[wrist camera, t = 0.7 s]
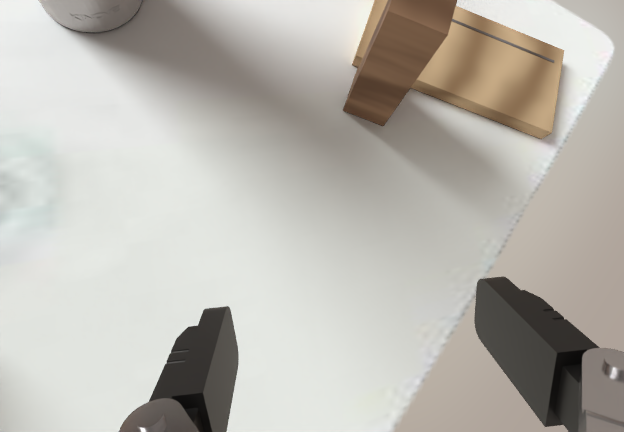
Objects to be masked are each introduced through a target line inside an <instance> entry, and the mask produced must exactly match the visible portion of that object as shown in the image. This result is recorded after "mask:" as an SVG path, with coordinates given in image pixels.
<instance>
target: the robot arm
mask: <svg viewBox="0 0 624 432" xmlns="http://www.w3.org/2000/svg"><path fill="white" fill-rule="evenodd" d="M39 2H40V3H41V5H42V6H43V8H44V9H45V11H46V12H47V13H48V14H49V15H50V16H51V17H52V18H53V19H54V20H55V21H57V22H58V23H60V24H61V25H63V26H65V27H68V28H70V29H73V30H77V31H81V32H103V31H108V30H111V29H115V28H117V27H119V26H121V25H123V24H125V23H126V22H127V21H129V20H130V19H131V18H132V17H133V16H134V15H135V14H136V12H137V11H138V9H139V7H140V5H141V2H142V0H39ZM475 328H476V332H477V334H478V337H479V339H480V340H481V342H482V343H483V344H484V346H485V347H486V348H487V350H488V351H489V352H490V354H491V355H492V356H493V358H494V359H495V360H496V362H497V363H498V364H499V366H500V367H501V369H502V370H503V371H504V373H505V374H506V375H507V376H508V378H509V379H510V381H511V382H512V383H513V384H514V386H515V387H516V389H517V390H518V391H519V393H520V394H521V395H522V397H523V398H524V399H525V401H526V402H527V403H528V405H529V406H530V407H531V409H532V410H533V411H534V413H535V414H536V415H537V417H538V418H539V419H540V421H541V422H542V423H543V425H544V426H545V427H547V426H557V425H564V426H565V427H566V428H567V430H568V432H624V352H622V351H618V350H614V349H608V348H599V347H598V346H597V345H596V344H595V343H593V342H592V341H591V340H590V339H589V338H588V337H586V336H585V335H584V334H583V333H582V332H580V331H579V330H578V329H577V328H576V327H574V326H573V325H572V324H571V323H570V322H569V321H568V320H564V317H563V316H562V315H560V314H559V313H558V312H557V311H554V309H553V308H552V307H551V306H550V305H548V304H547V303H546V302H545V301H544V300H543V299H541V298H540V297H538V296H536V295H534V294H531V293H529V292H527V291H525V290H520V289H519V288H518V287H516V286H515V285H514V284H513V283H512V282H511V281H510V280H509V279H507V278H506V277H495V278H486V279H480V280H479V281H478V283H477V291H476V306H475ZM237 369H238V347H237V341H236V336H235V331H234V326H233V320H232V315H231V311H230V308H229V307H228V306H227V307H218V308H209V309H204V311H203V314H202V316H201V319H200V322H199V324H198V326H192V327H188V328H187V329H186V330H185V331H184V332H183V333H182V334H181V335H180V336H179V337H178V338H177V339H176V341H175V344H174V346H173V348H172V350H171V353H170V355H169V357H168V360H167V364H165V366H164V369H163V371H162V373H161V375H160V378H159V380H158V382H157V385H156V387H155V389H154V391H153V394H152V396H151V398H150V401H149V402H148V403H146V404H144V405H142V406H140V407H139V408H137V409H136V410H135V411H133V412H132V413H131V414H130V415H129V416H128V417H127V418H126V420H125V421H124V422H123V424H122V426H121V428H120V431H119V432H226V431H227V425H228V419H229V414H230V408H231V403H232V397H233V392H234V386H235V380H236V375H237Z"/></svg>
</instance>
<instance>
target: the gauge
mask: <svg viewBox="0 0 624 432" xmlns="http://www.w3.org/2000/svg"><path fill="white" fill-rule="evenodd" d="M456 3H457V0H388V1H387V3H386V6H385V8H384V10H383V13H382V15H381V17H380V19H379V22H378V24H377V26H376V29H375V31H374V33H373V35H372V38H371V40H370V42H369V45H368V47H367V49H366V51H365V54H364V56H363V58H362V61H361V63H360V65H359V67H358V70H357V72H356V74H355V77H354V80H353V83H352V86H351V88H350V91H349V94H348V97H347V100H346V103H345V106H344V109H343V111H345V112H348V113H350V114H353V115H356V116H358V117H361V118H363V119H366V120H369V121H371V122H374V123H376V124H379V125H382V126H384V125H385V123H386V122H387V120H388V119H389V117H390V116H391V115H392V113H393V112H394V110H395V109H396V108H397V106H398V105H399V103H400V102H401V101H402V99H403V98H404V96H405V95H406V93H407V92H408V91H409V89H410V88H411V86H412V85H413V84H414V82H415V81H416V79H417V78H418V77H419V75H420V74H421V72H422V71H423V69H424V68H425V67H426V65H427V64H428V62H429V61H430V60H431V58H432V57H433V55H434V54H435V53H436V51H437V50H438V48H439V47H440V45H441V44H442V43H443V41H444V40H445V38H446V37H447V36H448V33H449V29H450V25H451V22H452V18H453V14H454V10H455V6H456Z"/></svg>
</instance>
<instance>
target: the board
mask: <svg viewBox="0 0 624 432" xmlns="http://www.w3.org/2000/svg"><path fill="white" fill-rule="evenodd" d="M387 1H388V0H375V1H374V4H373V7H372V10H371V12H370V15H369V18H368V21H367V24H366V27H365V30H364V32H363V35H362V38H361V41H360V44H359V47H358V49H357V52H356V55H355V58H354V61H353V64H352V65H354V66H357V67H359V65H360V63H361V61H362V58H363V56H364V54H365V51H366V49H367V47H368V45H369V42H370V40H371V38H372V35H373V33H374V31H375V29H376V26H377V24H378V22H379V19H380V17H381V15H382V13H383V10H384V8H385V6H386V3H387ZM563 54H564V50H562V49H559V48H557V47H554V46H552V45H550V44H547V43H545V42H542V41H540V40H537V39H535V38H533V37H530V36H528V35H525V34H523V33H520V32H518V31H516V30H513V29H511V28H508V27H506V26H503V25H501V24H499V23H496V22H494V21H491V20H489V19H486V18H484V17H482V16H479V15H477V14H474V13H472V12H469V11H467V10H465V9H462V8H460V7H457V6H455V10H454V14H453V18H452V22H451V25H450V29H449V33H448V36H447V37H446V38H445V40H444V41H443V43H442V44H441V45H440V47H439V48H438V50H437V51H436V53H435V54H434V55H433V57H432V58H431V60H430V61H429V62H428V64H427V65H426V67H425V68H424V69H423V71H422V72H421V74H420V75H419V77H418V78H417V79H416V81H415V82H414V84H413V85H412V86H411V88H412V89H415V90H418V91H420V92H423V93H425V94H428V95H430V96H433V97H435V98H438V99H440V100H443V101H446V102H448V103H451V104H453V105H456V106H458V107H461V108H463V109H466V110H468V111H471V112H474V113H476V114H479V115H481V116H484V117H486V118H489V119H491V120H494V121H496V122H499V123H502V124H504V125H507V126H509V127H512V128H514V129H517V130H519V131H522V132H524V133H527V134H530V135H532V136H535V137H537V138H540V139H542V138H544V137H545V136H547V135H549V134H550V133H552V128H553V121H554V115H555V108H556V101H557V95H558V88H559V81H560V74H561V68H562V61H563Z"/></svg>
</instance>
